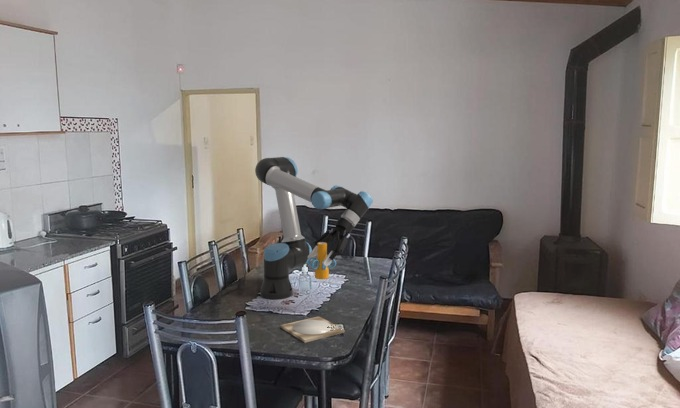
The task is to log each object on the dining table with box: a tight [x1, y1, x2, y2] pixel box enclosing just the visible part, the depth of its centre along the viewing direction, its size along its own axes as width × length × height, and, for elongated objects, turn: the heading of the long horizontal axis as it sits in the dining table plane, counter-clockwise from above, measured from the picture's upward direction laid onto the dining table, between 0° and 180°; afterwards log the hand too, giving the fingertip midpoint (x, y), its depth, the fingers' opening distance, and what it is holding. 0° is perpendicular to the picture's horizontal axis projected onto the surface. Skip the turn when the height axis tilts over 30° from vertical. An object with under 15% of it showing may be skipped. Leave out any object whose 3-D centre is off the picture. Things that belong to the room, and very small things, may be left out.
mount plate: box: [280, 315, 346, 344], centre depth 206 cm, size 18×18×1 cm
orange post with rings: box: [307, 242, 337, 280], centre depth 225 cm, size 12×10×15 cm
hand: (316, 262), depth 223 cm, fingers closed on orange post with rings, 11 cm apart
